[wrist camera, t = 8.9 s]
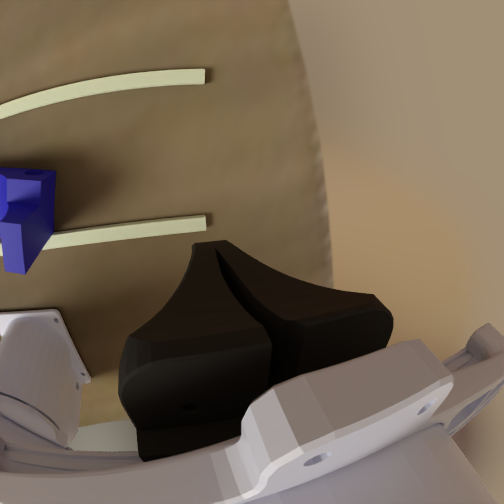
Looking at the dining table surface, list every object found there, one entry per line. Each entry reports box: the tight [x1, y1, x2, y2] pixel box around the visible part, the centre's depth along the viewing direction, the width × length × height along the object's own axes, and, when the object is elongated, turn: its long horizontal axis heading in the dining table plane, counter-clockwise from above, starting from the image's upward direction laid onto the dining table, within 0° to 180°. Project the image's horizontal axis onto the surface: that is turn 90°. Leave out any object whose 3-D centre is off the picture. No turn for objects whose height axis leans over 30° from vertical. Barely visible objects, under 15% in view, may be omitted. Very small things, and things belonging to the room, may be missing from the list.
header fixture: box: [0, 69, 206, 256], centre depth 13 cm, size 11×24×5 cm, turn 88°
